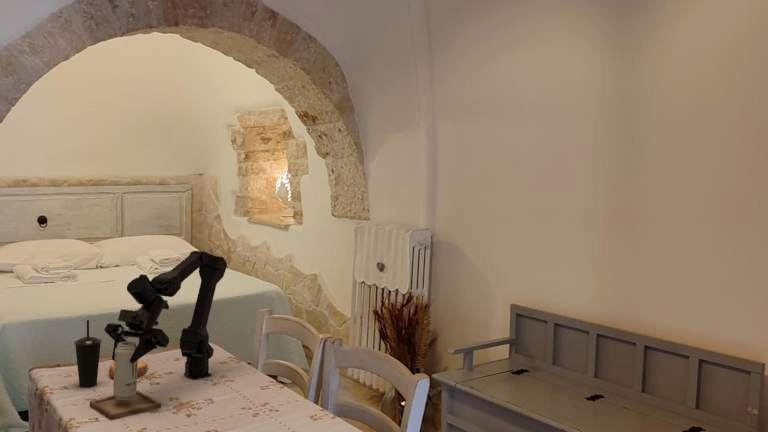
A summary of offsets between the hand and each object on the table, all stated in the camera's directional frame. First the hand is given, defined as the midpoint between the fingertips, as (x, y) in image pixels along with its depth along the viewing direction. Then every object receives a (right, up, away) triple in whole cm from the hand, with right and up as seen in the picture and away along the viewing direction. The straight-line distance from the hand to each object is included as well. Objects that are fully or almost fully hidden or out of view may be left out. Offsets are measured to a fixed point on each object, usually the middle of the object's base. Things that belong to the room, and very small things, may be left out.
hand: (122, 361), depth 191 cm
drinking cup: (-18, -12, +21) cm, 30 cm away
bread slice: (-13, -11, +37) cm, 40 cm away
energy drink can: (0, -11, +2) cm, 11 cm away
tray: (0, -13, +2) cm, 13 cm away
